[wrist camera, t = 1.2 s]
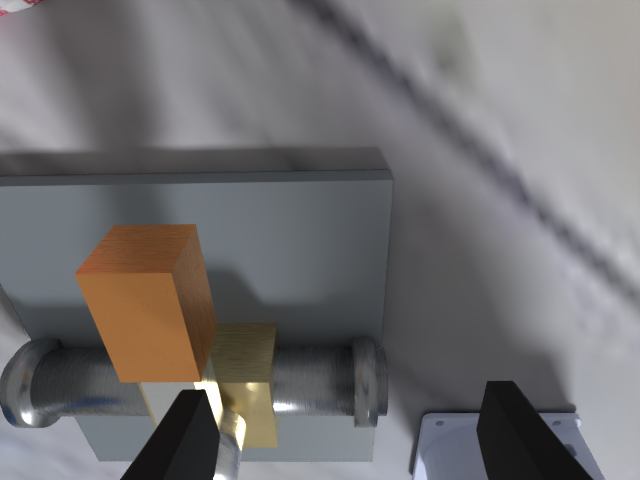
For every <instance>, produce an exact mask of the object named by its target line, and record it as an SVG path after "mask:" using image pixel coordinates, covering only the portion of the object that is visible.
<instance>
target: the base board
mask: <svg viewBox="0 0 640 480" xmlns="http://www.w3.org/2000/svg"><path fill="white" fill-rule="evenodd" d="M392 194H393V177H392V173H391V170H346V171H287V172H228V173H169V174H110V175H51V176H0V284H1V286H2V288H3V289H4V291H5V293H6V295H7V297H8V298H9V300H10V302H11V304H12V306H13V307H14V309H15V311H16V313H17V315H18V316H19V318H20V320H21V322H22V324H23V325H24V327H25V329H26V331H27V333H28V334H29V336H30V338H31V340H35V339H60V340H61V342H62V344H63V346H64V348H65V349H106V347H105V345H104V342H103V340H102V338H101V335H100V333H99V331H98V328H97V326H96V324H95V321H94V319H93V317H92V314H91V312H90V310H89V307H88V305H87V303H86V300H85V298H84V296H83V293H82V291H81V289H80V286H79V284H78V282H77V279H76V277H75V275H74V274H75V272H76V271H77V270H78V269H79V267H80V266H81V265H82V264H83V262H84V261H85V260H86V259H87V258H88V256H89V255H90V254H91V253H92V251H93V250H94V249H95V248H96V246H97V245H98V244H99V243H100V242H101V240H102V239H103V238H104V237H105V235H106V234H107V233H108V232H109V230H110V229H111V228H112V227H113V225H162V224H196V227H197V232H198V237H199V241H200V246H201V251H202V255H203V260H204V264H205V269H206V274H207V278H208V283H209V288H210V292H211V297H212V302H213V306H214V311H215V316H216V320H217V323H277V325H278V335H279V344H280V348H309V347H352V337H373V340H374V345H375V347H381V340H382V327H383V313H384V300H385V287H386V273H387V260H388V247H389V234H390V220H391V207H392ZM74 417H75V419H76V421H77V422H78V424H79V426H80V428H81V430H82V431H83V433H84V435H85V437H86V439H87V440H88V442H89V444H90V446H91V448H92V449H93V451H94V453H95V455H96V457H97V458H98V460H99V461H134V460H135V458H136V457H137V455H138V454H139V453H140V451H141V450H142V448H143V447H144V446H145V444H146V443H147V441H148V440H149V438H150V437H151V435H152V434H153V432H154V431H155V429H156V428H155V425H154V423H153V420H152V418H151V416H74ZM374 433H375V427H368V428H354V423H353V416H281V421H280V430H279V440H278V448H243V449H242V455H241V460H240V461H272V462H372V460H373V446H374Z"/></svg>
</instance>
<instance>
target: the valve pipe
mask: <svg viewBox="0 0 640 480" xmlns="http://www.w3.org/2000/svg"><path fill="white" fill-rule="evenodd" d="M217 325H218V327H217V331H216V334H215V337H214V340H213V344H212V347H211V350H210V357H211V361H212V366H213V370H214V374H215V378H216V382H217V386H218V390H219V395H220V399H221V403H222V406H224V407H227V408H229V409H231V410H233V411H235V412H236V413H237V414H239V415H240V416H241V417H242V419H243V420H244V422H245V425H246V432H245V438H244V443H243V448H278V440H279V430H280V421H281V416H353V423H354V428H368V427H376V426H377V420H378V416H386V415H387V409H388V379H387V366H386V358H385V352H384V349H383V347H375V345H374V340H373V337H352V347H309V348H280V344H279V335H278V325H277V323H217ZM0 405H1V408H2V411H3V414H4V416H5V418H6V419H7V421H8V422H9V423H10V424H11V425H13V426H15V427H19V428H44V427H48V426H50V425H52V424H54V423H55V422H56V421H57V420H59V418H60V417H61V416H151V418H152V420H153V423H154V425H155V428H157V424H156V421H155V418H154V416H153V413H152V411H151V408H150V406H149V403H148V400H147V398H146V395H145V393H144V390H143V388H142V385H141V383H140V382H133V383H121V382H120V380H119V377H118V375H117V373H116V370H115V368H114V366H113V363H112V361H111V359H110V356H109V354H108V352H107V349H65V348H64V346H63V344H62V342H61V340H60V339H35V340H31V341H29V342H27V343H26V344H24V345H23V346H22V347H21V348H20V349H19V350H18V351H17V352H16V353H15V355H14V356H13V357H12V358H11V359H10V361H9V362H8V363H7V365H6V367H5V368H4V371H3V373H2V376H1V379H0Z"/></svg>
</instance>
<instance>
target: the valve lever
mask: <svg viewBox="0 0 640 480" xmlns="http://www.w3.org/2000/svg"><path fill="white" fill-rule="evenodd" d="M74 275H75V277H76V279H77V282H78V284H79V286H80V289H81V291H82V293H83V296H84V298H85V300H86V303H87V305H88V307H89V310H90V312H91V314H92V317H93V319H94V321H95V324H96V326H97V328H98V331H99V333H100V335H101V338H102V340H103V342H104V345H105V347H106V349H107V352H108V354H109V356H110V359H111V361H112V363H113V366H114V368H115V370H116V373H117V375H118V377H119V380H120V382H121V383H133V382H140V383H141V385H142V388H143V390H144V393H145V395H146V398H147V400H148V403H149V406H150V408H151V411H152V413H153V416H154V418H155V421H156V424H157V426H158V425H159V423H160V422H161V420H162V419H163V417H164V416H165V414H166V413H167V411H168V409H169V408H170V406H171V405H172V403H173V402H174V400H175V398H176V397H177V395H178V394H179V392H180V391H181V390H183V389H206V392H207V395H208V398H209V401H210V404H211V408H212V411H213V414H214V417H215V420H216V423H217V426H218V429H219V432H220V442H219V449H218V456H217V463H216V469H215V476H214V480H237V478H238V472H239V466H240V460H241V455H242V449H243V443H244V438H245V432H246V425H245V422H244V420H243V419H242V417H241V416H240V415H239V414H237V413H236V412H235V411H233V410H231V409H229V408H227V407H224V406H222V403H221V399H220V395H219V390H218V386H217V382H216V378H215V374H214V370H213V366H212V361H211V357H210V350H211V347H212V344H213V340H214V337H215V334H216V331H217V327H218V325H217V320H216V316H215V311H214V306H213V302H212V297H211V292H210V288H209V283H208V278H207V274H206V269H205V264H204V260H203V255H202V251H201V246H200V241H199V237H198V232H197V227H196V224H162V225H113V227H112V228H111V229H110V230H109V232H108V233H107V234H106V235H105V237H104V238H103V239H102V240H101V242H100V243H99V244H98V245H97V246H96V248H95V249H94V250H93V251H92V253H91V254H90V255H89V256H88V258H87V259H86V260H85V261H84V262H83V264H82V265H81V266H80V267H79V269H78V270H77V271H76V272H75V274H74Z"/></svg>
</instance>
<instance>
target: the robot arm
mask: <svg viewBox="0 0 640 480" xmlns="http://www.w3.org/2000/svg"><path fill="white" fill-rule="evenodd" d="M580 424H581V419H580V417H579V415H578V414H576V413H538V412H537V411H536V410H535V408H534V407H533V406H532V405H531V403H530V402H529V401H528V399H527V398H526V397H525V396H524V394H523V393H522V392H521V390H520V389H519V388H518V386H517V385H516V384H515V383H514V382H513V381H487V385H486V389H485V393H484V398H483V402H482V406H481V410H480V413H429V414H426V415H425V416H423V418H422V424H421V429H420V435H419V441H418V447H417V452H416V458H415V464H414V470H413V475H412V480H605V478H604V476H603V474H602V473H601V471H600V469H599V467H598V465H597V463H596V461H595V459H594V458H593V456H592V454H591V452H590V450H589V448H588V446H587V445H586V443H585V441H584V439H583V437H582V435H581V433H580V431H579V430H578V428H579V426H580ZM219 442H220V432H219V429H218V426H217V423H216V420H215V417H214V414H213V411H212V408H211V404H210V401H209V398H208V395H207V392H206V389H183V390H181V391H180V392H179V394H178V395H177V397H176V398H175V400H174V402H173V403H172V405H171V406H170V408H169V409H168V411H167V413H166V414H165V416H164V417H163V419H162V420H161V422H160V423H159V425H158V426H157V428H156V429H155V431H154V432H153V434H152V435H151V437H150V438H149V440H148V441H147V443H146V444H145V446H144V447H143V448H142V450H141V451H140V453H139V454H138V455H137V457H136V458H135V460H134V461H133V462H132V464H131V465H130V467H129V468H128V470H127V471H126V472H125V474H124V475H123V476H122V478H121V479H120V480H214V476H215V469H216V463H217V456H218V449H219Z"/></svg>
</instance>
